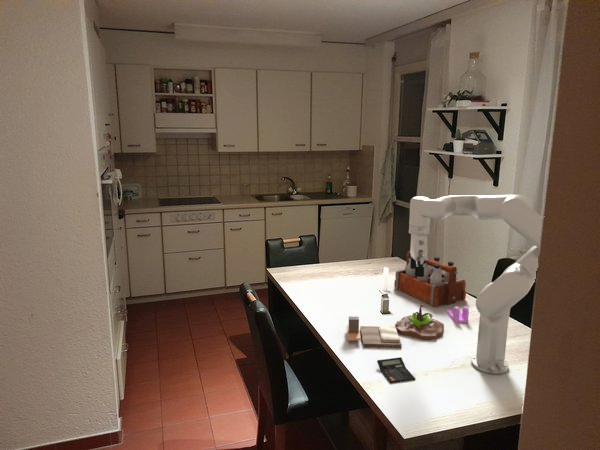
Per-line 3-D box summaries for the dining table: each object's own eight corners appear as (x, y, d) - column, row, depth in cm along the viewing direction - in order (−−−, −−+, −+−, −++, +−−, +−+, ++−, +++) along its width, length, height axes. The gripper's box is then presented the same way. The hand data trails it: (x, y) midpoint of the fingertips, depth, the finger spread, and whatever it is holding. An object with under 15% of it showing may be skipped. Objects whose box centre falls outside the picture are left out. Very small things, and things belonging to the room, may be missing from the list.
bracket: (467, 323, 204) (469, 308, 202) (455, 323, 204) (456, 308, 202) (457, 311, 217) (458, 297, 215) (445, 311, 216) (446, 297, 215)
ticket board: (401, 347, 181) (401, 341, 180) (363, 346, 182) (363, 340, 181) (395, 330, 197) (395, 324, 196) (360, 329, 198) (360, 323, 197)
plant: (449, 327, 201) (451, 303, 198) (436, 344, 185) (437, 318, 182) (405, 317, 211) (406, 294, 209) (389, 332, 195) (390, 308, 193)
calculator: (390, 384, 156) (390, 376, 156) (376, 367, 167) (377, 359, 167) (415, 380, 158) (415, 372, 158) (400, 364, 170) (400, 356, 169)
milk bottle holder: (420, 281, 259) (422, 248, 255) (469, 301, 229) (472, 264, 225) (390, 287, 249) (392, 253, 245) (438, 309, 219) (440, 271, 215)
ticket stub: (360, 340, 184) (361, 324, 182) (348, 340, 184) (348, 324, 182) (358, 327, 195) (358, 312, 194) (346, 327, 196) (347, 312, 194)
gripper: (434, 234, 165) (431, 280, 169) (424, 224, 182) (422, 266, 185) (413, 234, 165) (410, 279, 169) (405, 224, 182) (403, 265, 186)
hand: (416, 272), depth 177 cm, fingers open, 9 cm apart
